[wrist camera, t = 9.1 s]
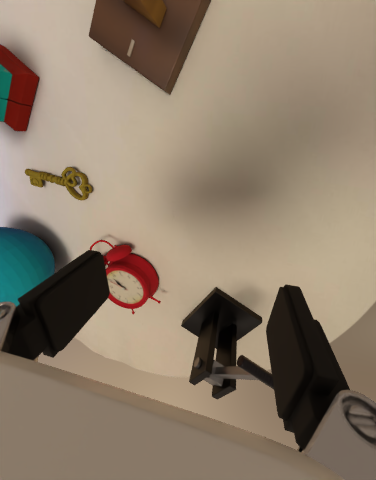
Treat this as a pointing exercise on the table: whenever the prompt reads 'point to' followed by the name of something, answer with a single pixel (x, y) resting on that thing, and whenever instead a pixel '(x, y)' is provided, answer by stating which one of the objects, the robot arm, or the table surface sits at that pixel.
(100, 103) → the table surface
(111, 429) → the robot arm
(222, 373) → the door lever
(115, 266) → the alarm clock
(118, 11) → the plate
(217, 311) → the black handle mount
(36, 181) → the key
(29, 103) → the toy robot
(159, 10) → the thumbturn
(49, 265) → the decorative orb
